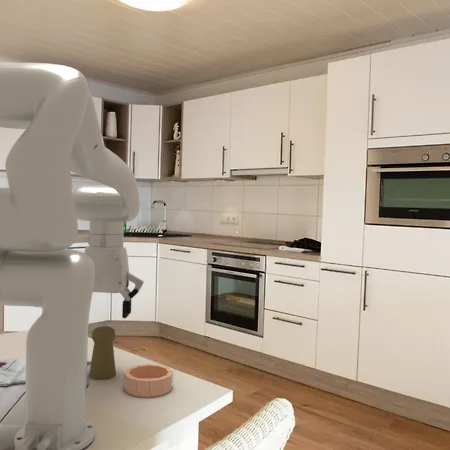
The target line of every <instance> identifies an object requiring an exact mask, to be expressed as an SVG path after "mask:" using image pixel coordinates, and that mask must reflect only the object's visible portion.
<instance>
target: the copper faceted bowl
mask: <svg viewBox="0 0 450 450" xmlns="http://www.w3.org/2000/svg"><path fill="white" fill-rule="evenodd" d="M123 373H124V374H123V385H124V391H125V393H126V394H128V395H129V396H133V397H136V398H145V399H147V398H149V399H150V398H157V397H162V396H165V395H167V394H168V393H169V394H170V392H171V391H172V389H173V383H174V370H172V368H171V367H169V366H165V365H162V364H155V363H154V364H153V363H145V364H137V365H133V366H131V367H128V368H127V369H126V370H125V371H124V372H123Z"/></svg>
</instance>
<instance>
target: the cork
mask: <svg viewBox="0 0 450 450" xmlns="http://www.w3.org/2000/svg"><path fill="white" fill-rule="evenodd" d="M115 338H116V331H115V328H113V327H111V326H106V325H105V326H104V325H103V326H98V327H95V328H94V329H93V330H92V333H91V339H92V342H93V348H92V355H91V361H90V366H89V374H88V377H89V378H90V379H92V380H98V381H105V380H111V379H113V378H115V377H116V376H115V375H117V371H116V360H115V349H114V340H115ZM114 376H115V377H114Z"/></svg>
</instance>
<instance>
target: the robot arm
mask: <svg viewBox="0 0 450 450" xmlns="http://www.w3.org/2000/svg"><path fill="white" fill-rule="evenodd" d="M0 128H3V129H5V128H6V129H16V130H17V129H18V130H24V131H23V132H22V134H21V135H20V136H19V137H18V138H17V140H16V141H15V143H14V144H12V147H11V149H10V150H9V152H8V154H7V156H6V159H5V162H4V163H5V172H6V177H7V178H6V179H7V183H8V187H0V306H8V307H9V306H10V307H11V306H13V307H34V308H40V309H43V311H42V313H41V315H40V316H39V317H38V318H37V319H36V320H34V321H35V322H33V324H32V325H31V326H30V328H29V330H28V332H27V334H26V335H27V336H26V343H25V347H26V349H25V390H24V391H25V394H24V396H25V400H24V426H23V427H21V428H19V430H18V431H17V432H16V433H15V434H14V437H13V447H14V450H84V449H85V448H86V447H88V446H89V445H90V444H91V443H92V442H93V441H94V439H95V437H96V428H95V425H94V424H93V423H92V422H91V421H90V420H89V419H86V418H87V416H86V415H87V385H88V384H87V383H88V380H87V379H88V354H89V353H88V350H89V349H88V346H89V345H88V343H89V342H88V341H89V319H90V311H91V305H92V297H93V293H104V294H105V293H106V294H120V295H121V296H122V298H123V299H124V300H122V311H121V313H122V315H121V317H122V319H126V318H128V317H129V315H130V314H131V313H132V299H133V298H135V296H137V294H138V293H140V291H141V288H142V287H143V285H144V280H143V279H140V278H139V277H137V276H135V275H134V274H133V273H131V272H130V271H129V270H130V269H129V266H130V265H129V258H128V252H127V247H125V246H124V235H125V234H124V233H125V232H124V225H125V224H124V223H128V222H132V221H134V220H135V219H136V218H137V216H138V215H139V213H140V194H139V189H138V183H137V179H136V176H135V174H134V172H133V170H132V168H131V167H130V166H129V165H128V164H127V163H126V162H125V161H123V159H122V158H121V157H120V156H118V155H117V153H114V152H113V151H111V150H110V149H109V148H107V147H106V146H105V142H104V139H103V135H102V131H101V127H100V122H99V118H98V114H97V111H96V106H95V102H94V98H93V96H92V93H91V91H90V89H89V85H88V81H87V79H86V77H85V75H84V74H83V73H82V72H81V71H79V69H76V68H74V67H71V66H69V65H68V66H67V65H63V64H59V63H58V64H56V63H43V62H15V61H14V62H10V61H7V62H6V61H0ZM71 173H73V174H75V175H78V176H80V177H82V178H85V179H88V180H91V181H94V182H96V183H100V185H99V184H95V185H94V184H82V185H78V186H76V187H74V188H73V181H72V174H71ZM101 184H103V185H101ZM78 220H81V221H84V222H89V229H88V231H89V233H88V234H85V235H83V237H82V240H83V242H87V243H88V244H87V245H88V246H86V247H84V252H83V251H80V250H76V249H72V248H70V247H72V245H73V244H74V243H75V241H76V239H77V236H78V230H79V228H78V227H79V225H78ZM130 283H133V284H134V288H133V289H132V290H130V289H129V285H130Z"/></svg>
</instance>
